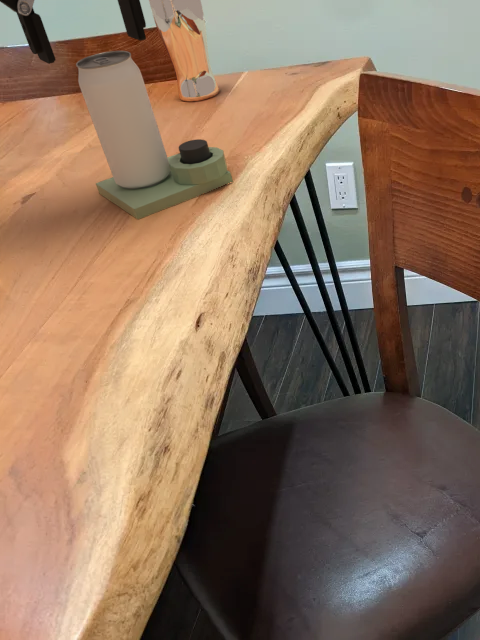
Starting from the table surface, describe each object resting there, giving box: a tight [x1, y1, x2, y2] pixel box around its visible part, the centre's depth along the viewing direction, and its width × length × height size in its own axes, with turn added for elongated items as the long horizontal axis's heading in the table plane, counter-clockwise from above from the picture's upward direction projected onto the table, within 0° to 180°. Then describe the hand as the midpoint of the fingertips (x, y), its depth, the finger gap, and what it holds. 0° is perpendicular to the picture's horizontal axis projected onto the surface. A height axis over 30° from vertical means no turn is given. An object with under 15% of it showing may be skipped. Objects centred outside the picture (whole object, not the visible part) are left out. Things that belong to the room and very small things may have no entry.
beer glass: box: [148, 0, 220, 103], centre depth 99 cm, size 7×7×15 cm
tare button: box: [178, 138, 211, 164], centre depth 77 cm, size 3×3×2 cm
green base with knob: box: [95, 146, 234, 220], centre depth 79 cm, size 13×12×3 cm
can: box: [75, 50, 171, 189], centre depth 75 cm, size 6×6×12 cm
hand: (93, 49), depth 70 cm, fingers open, 9 cm apart
